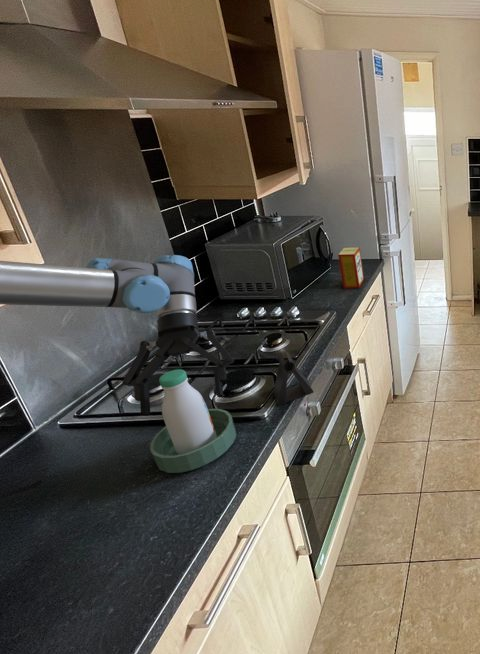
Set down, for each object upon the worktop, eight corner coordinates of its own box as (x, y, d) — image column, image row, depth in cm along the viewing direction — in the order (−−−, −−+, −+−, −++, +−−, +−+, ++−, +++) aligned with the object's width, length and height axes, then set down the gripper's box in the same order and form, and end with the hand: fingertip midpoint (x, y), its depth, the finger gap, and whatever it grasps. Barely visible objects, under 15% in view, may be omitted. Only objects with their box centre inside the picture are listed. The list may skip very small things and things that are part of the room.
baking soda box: (359, 288, 181) (354, 253, 175) (343, 288, 180) (338, 253, 174) (364, 279, 189) (359, 246, 183) (349, 280, 189) (344, 246, 183)
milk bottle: (218, 449, 96) (193, 377, 88) (176, 464, 92) (146, 390, 84) (217, 429, 102) (194, 360, 94) (178, 442, 98) (150, 372, 90)
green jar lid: (144, 482, 88) (136, 465, 86) (174, 432, 102) (167, 416, 100) (225, 465, 92) (220, 448, 90) (244, 419, 106) (239, 403, 104)
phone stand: (277, 405, 110) (268, 368, 106) (273, 394, 115) (264, 357, 110) (313, 392, 116) (305, 356, 111) (308, 382, 120) (300, 346, 115)
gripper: (241, 311, 108) (251, 391, 101) (118, 333, 98) (120, 424, 91) (234, 301, 102) (244, 385, 95) (101, 323, 91) (102, 420, 84)
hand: (183, 404), depth 93 cm, fingers open, 13 cm apart
